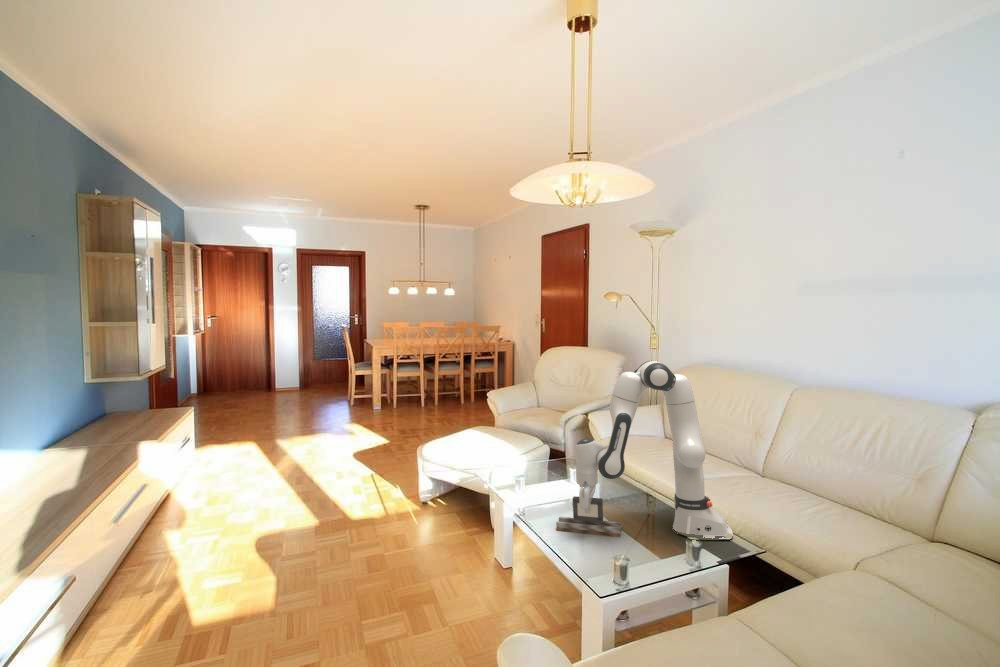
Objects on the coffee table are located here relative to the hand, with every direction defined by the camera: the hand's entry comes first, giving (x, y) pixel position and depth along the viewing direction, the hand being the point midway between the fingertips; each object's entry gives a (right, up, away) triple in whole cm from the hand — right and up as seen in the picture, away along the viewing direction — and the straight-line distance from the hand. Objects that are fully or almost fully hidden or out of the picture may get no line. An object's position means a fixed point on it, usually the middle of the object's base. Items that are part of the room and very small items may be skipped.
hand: (588, 511), depth 201 cm
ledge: (0, -8, 0) cm, 8 cm away
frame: (0, -4, 0) cm, 4 cm away
